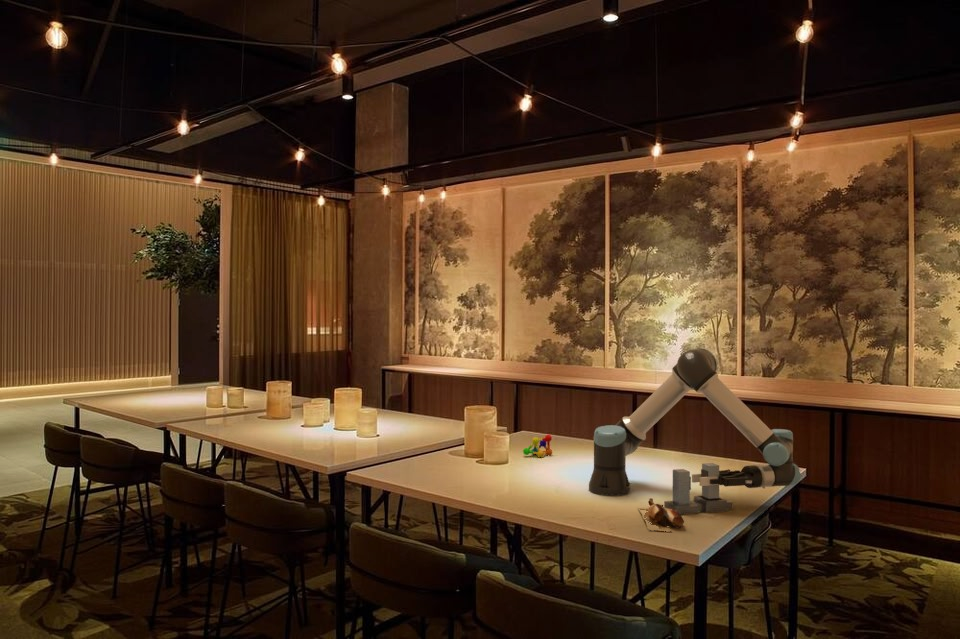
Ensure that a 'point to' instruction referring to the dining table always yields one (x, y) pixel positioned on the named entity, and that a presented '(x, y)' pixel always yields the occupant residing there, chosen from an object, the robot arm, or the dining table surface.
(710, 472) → the gray rectangular block
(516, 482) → the dining table surface
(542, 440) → the molecular model
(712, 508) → the grey blocky piece
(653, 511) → the ballet pointe shoes
